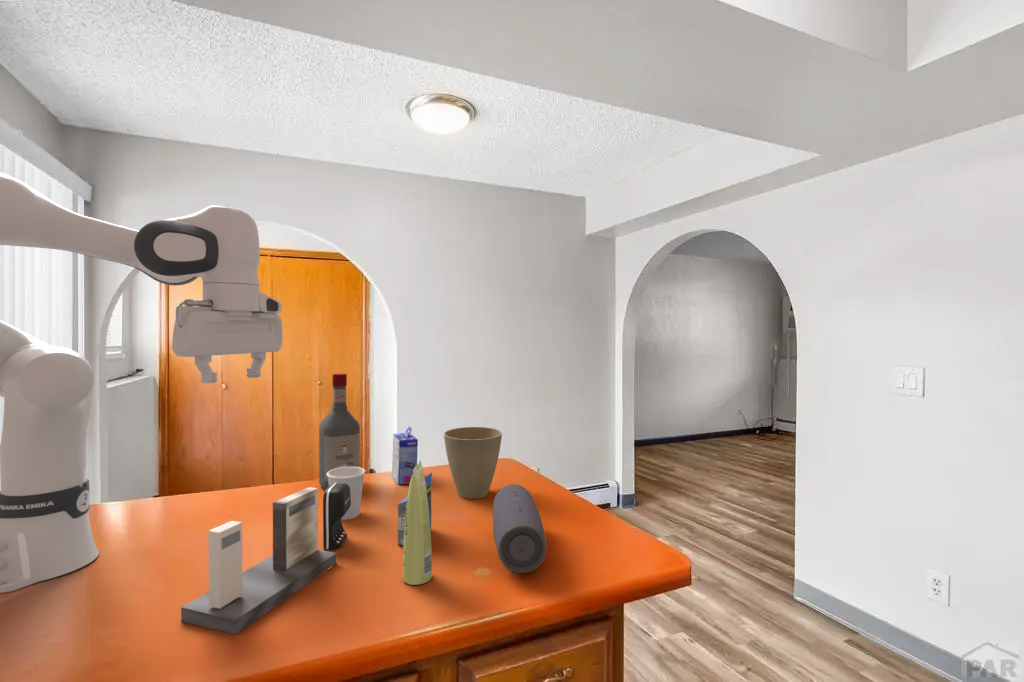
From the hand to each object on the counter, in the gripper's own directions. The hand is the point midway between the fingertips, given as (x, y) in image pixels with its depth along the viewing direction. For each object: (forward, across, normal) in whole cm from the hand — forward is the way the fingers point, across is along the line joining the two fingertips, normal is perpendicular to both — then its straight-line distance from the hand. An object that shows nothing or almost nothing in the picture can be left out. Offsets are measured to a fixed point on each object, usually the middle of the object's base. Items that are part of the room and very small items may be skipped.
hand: (232, 380), depth 89 cm
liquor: (+33, +44, +10) cm, 56 cm away
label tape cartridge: (+33, +21, -25) cm, 47 cm away
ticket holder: (+33, -5, -12) cm, 36 cm away
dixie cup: (+33, +27, -4) cm, 43 cm away
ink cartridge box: (+34, +55, -3) cm, 64 cm away
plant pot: (+33, +49, -26) cm, 65 cm away
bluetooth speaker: (+33, +22, -46) cm, 61 cm away
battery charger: (+33, +14, -12) cm, 38 cm away
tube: (+33, +6, -33) cm, 47 cm away
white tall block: (+31, -13, -12) cm, 35 cm away
